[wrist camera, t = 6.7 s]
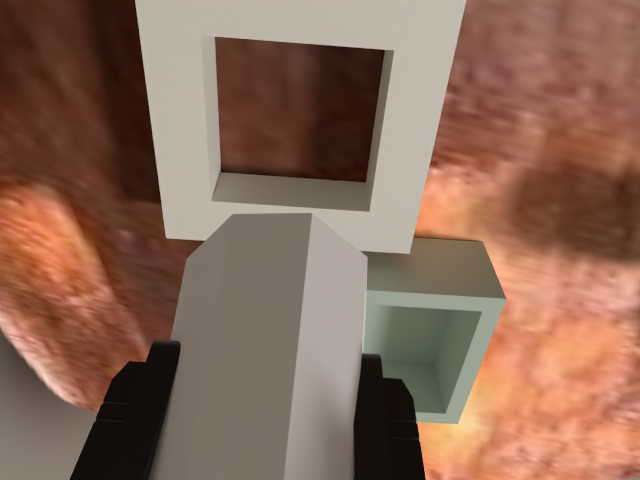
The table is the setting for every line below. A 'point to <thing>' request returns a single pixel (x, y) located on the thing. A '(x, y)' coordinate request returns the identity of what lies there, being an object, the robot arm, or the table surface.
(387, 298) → the bin
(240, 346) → the pepper shaker
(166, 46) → the cradle
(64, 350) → the table surface
